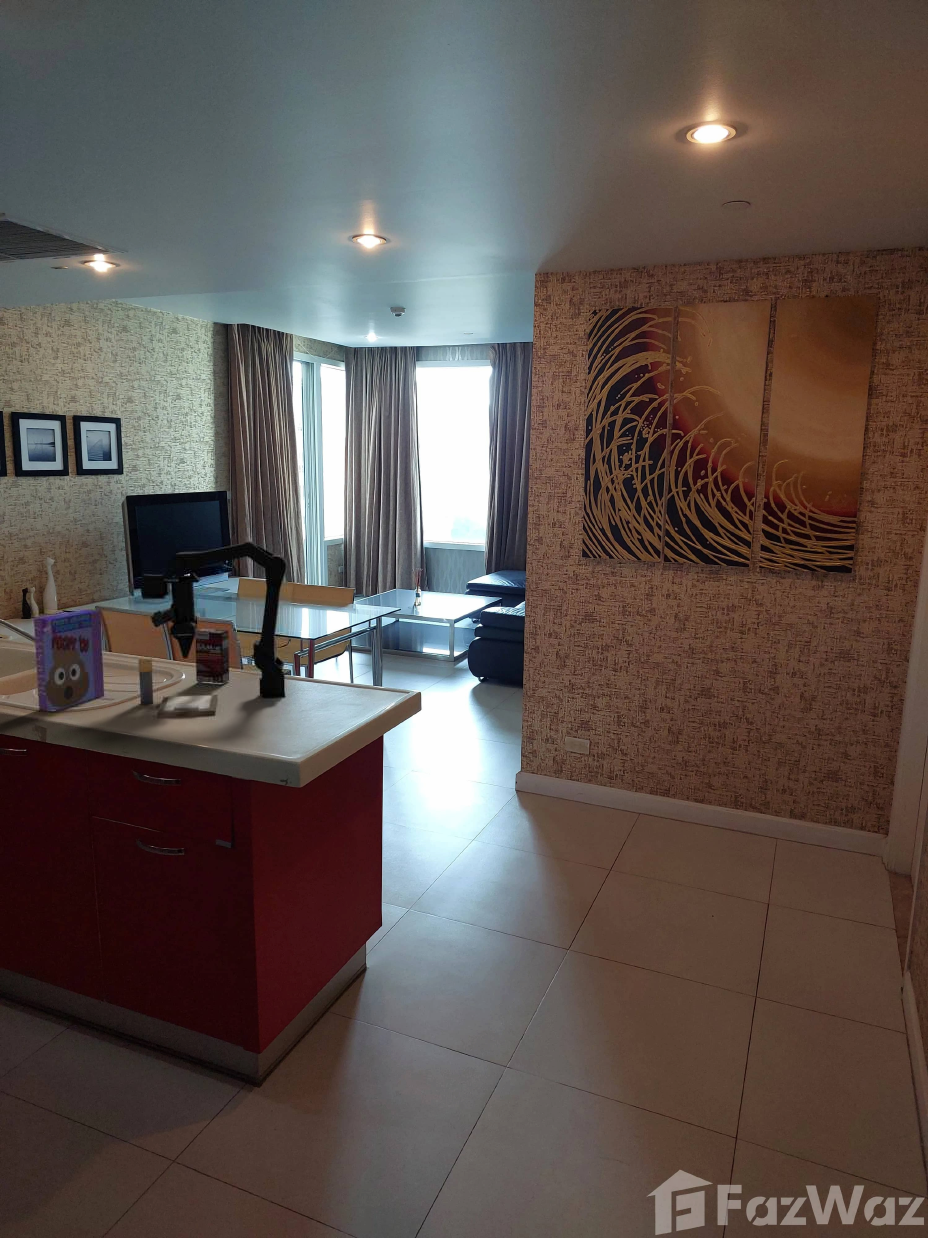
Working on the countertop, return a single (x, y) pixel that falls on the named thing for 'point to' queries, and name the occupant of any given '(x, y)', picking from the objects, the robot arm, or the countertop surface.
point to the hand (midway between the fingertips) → (186, 654)
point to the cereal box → (69, 659)
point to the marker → (146, 681)
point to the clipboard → (187, 706)
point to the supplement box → (212, 655)
